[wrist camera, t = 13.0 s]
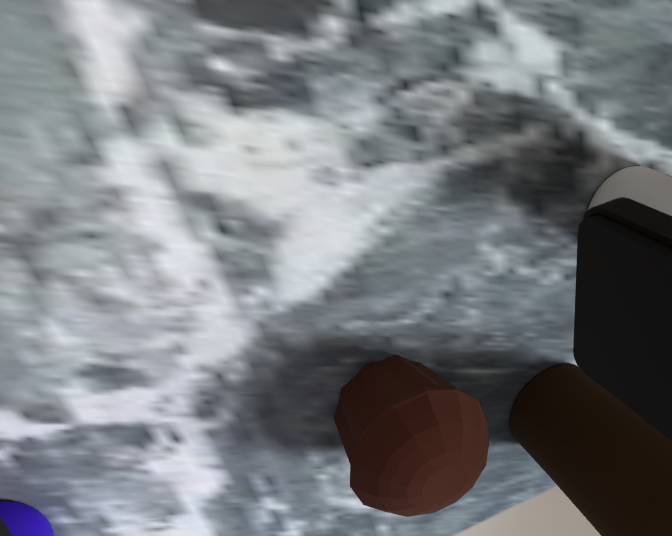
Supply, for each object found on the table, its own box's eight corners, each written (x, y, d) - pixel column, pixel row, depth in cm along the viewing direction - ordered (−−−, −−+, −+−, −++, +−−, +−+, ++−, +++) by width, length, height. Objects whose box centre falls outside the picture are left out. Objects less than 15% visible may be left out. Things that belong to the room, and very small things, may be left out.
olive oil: (484, 442, 60) (716, 699, 39) (539, 348, 57) (819, 570, 37) (557, 453, 65) (794, 684, 45) (610, 367, 63) (888, 571, 42)
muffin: (459, 342, 53) (535, 414, 45) (423, 449, 57) (488, 533, 49) (332, 343, 48) (392, 424, 40) (303, 460, 52) (352, 556, 43)
